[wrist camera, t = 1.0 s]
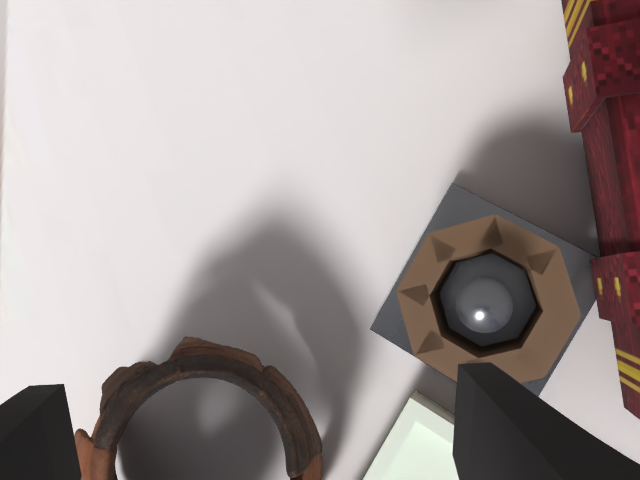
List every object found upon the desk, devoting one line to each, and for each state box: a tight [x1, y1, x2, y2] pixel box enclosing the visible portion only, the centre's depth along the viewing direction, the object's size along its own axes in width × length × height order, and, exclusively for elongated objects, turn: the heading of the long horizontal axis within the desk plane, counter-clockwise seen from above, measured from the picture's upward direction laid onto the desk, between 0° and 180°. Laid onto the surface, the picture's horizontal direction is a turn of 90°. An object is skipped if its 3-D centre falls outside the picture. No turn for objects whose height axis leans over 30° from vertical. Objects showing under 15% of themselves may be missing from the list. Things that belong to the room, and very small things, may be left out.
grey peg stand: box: [370, 183, 598, 396], centre depth 20 cm, size 6×6×6 cm
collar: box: [396, 215, 581, 383], centre depth 21 cm, size 5×5×4 cm
